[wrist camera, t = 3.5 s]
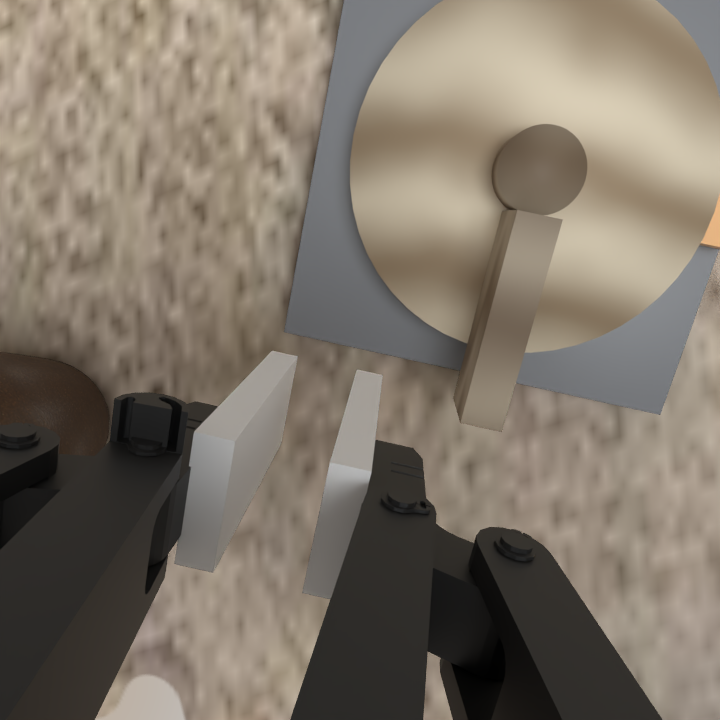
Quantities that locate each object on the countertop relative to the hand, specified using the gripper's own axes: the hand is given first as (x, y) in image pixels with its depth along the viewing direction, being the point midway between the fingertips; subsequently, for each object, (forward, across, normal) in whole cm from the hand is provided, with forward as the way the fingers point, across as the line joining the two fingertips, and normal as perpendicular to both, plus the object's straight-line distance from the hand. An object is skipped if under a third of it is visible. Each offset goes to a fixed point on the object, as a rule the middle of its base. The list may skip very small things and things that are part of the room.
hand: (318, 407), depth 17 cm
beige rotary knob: (+17, -7, -8) cm, 20 cm away
